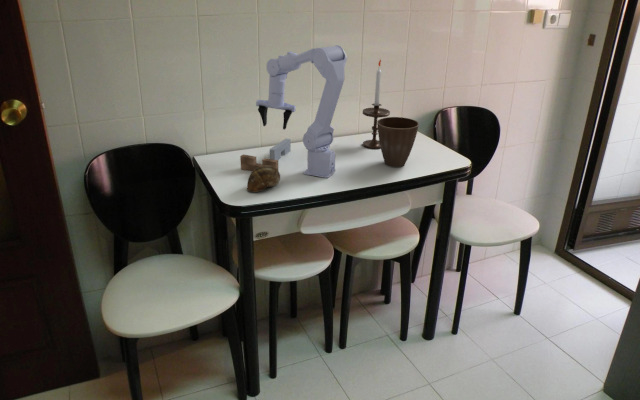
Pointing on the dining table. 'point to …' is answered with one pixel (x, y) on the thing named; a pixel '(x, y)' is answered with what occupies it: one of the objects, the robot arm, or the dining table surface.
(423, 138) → the dining table surface
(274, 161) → the walnut slotted board
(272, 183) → the seashell
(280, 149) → the grey slotted slat
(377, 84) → the candlestick
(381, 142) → the plant pot
